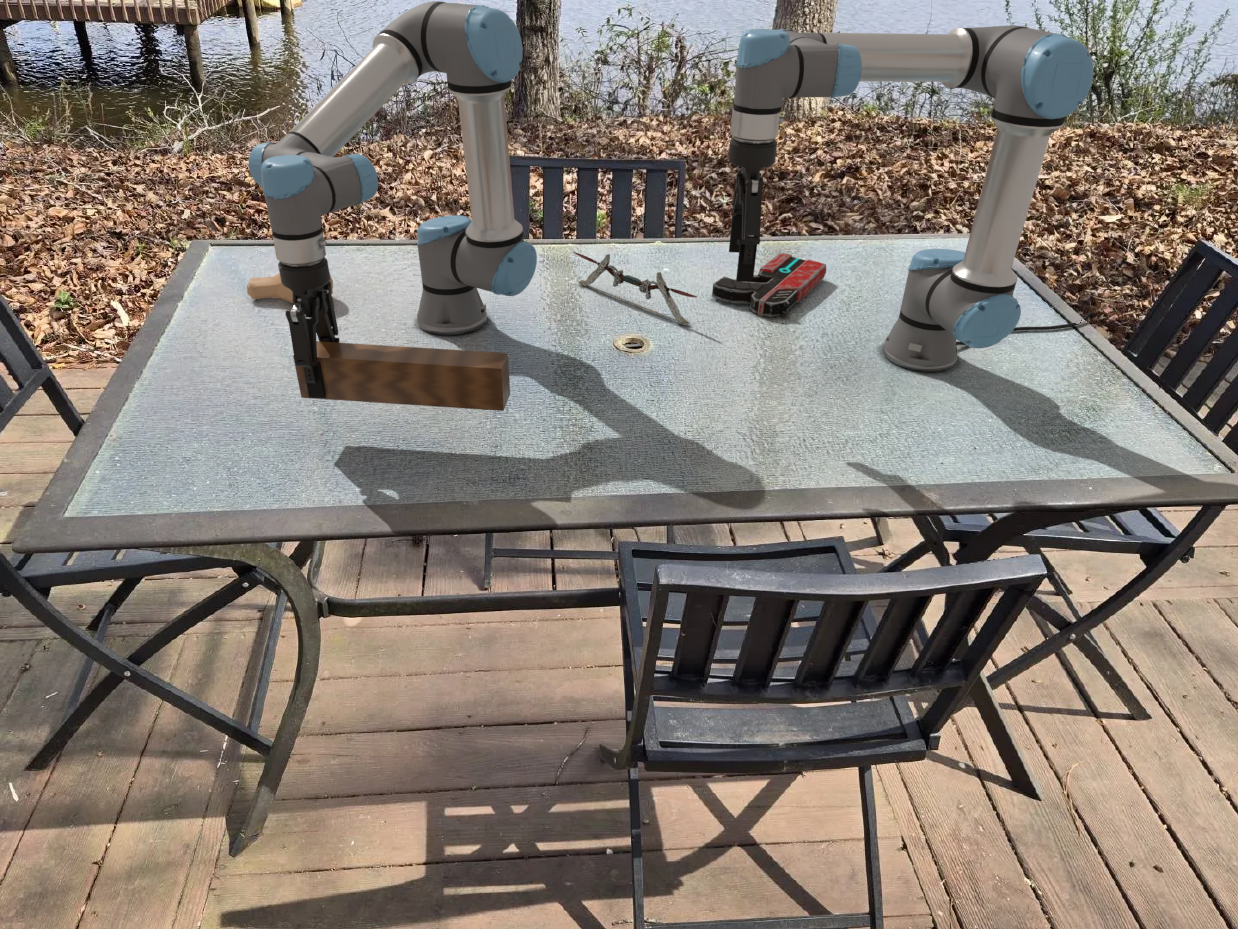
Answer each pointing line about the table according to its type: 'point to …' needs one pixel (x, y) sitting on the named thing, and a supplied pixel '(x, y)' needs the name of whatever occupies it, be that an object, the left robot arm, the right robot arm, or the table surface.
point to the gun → (773, 285)
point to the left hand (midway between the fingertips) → (324, 387)
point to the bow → (643, 285)
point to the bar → (412, 376)
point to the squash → (271, 288)
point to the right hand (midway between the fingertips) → (740, 265)
